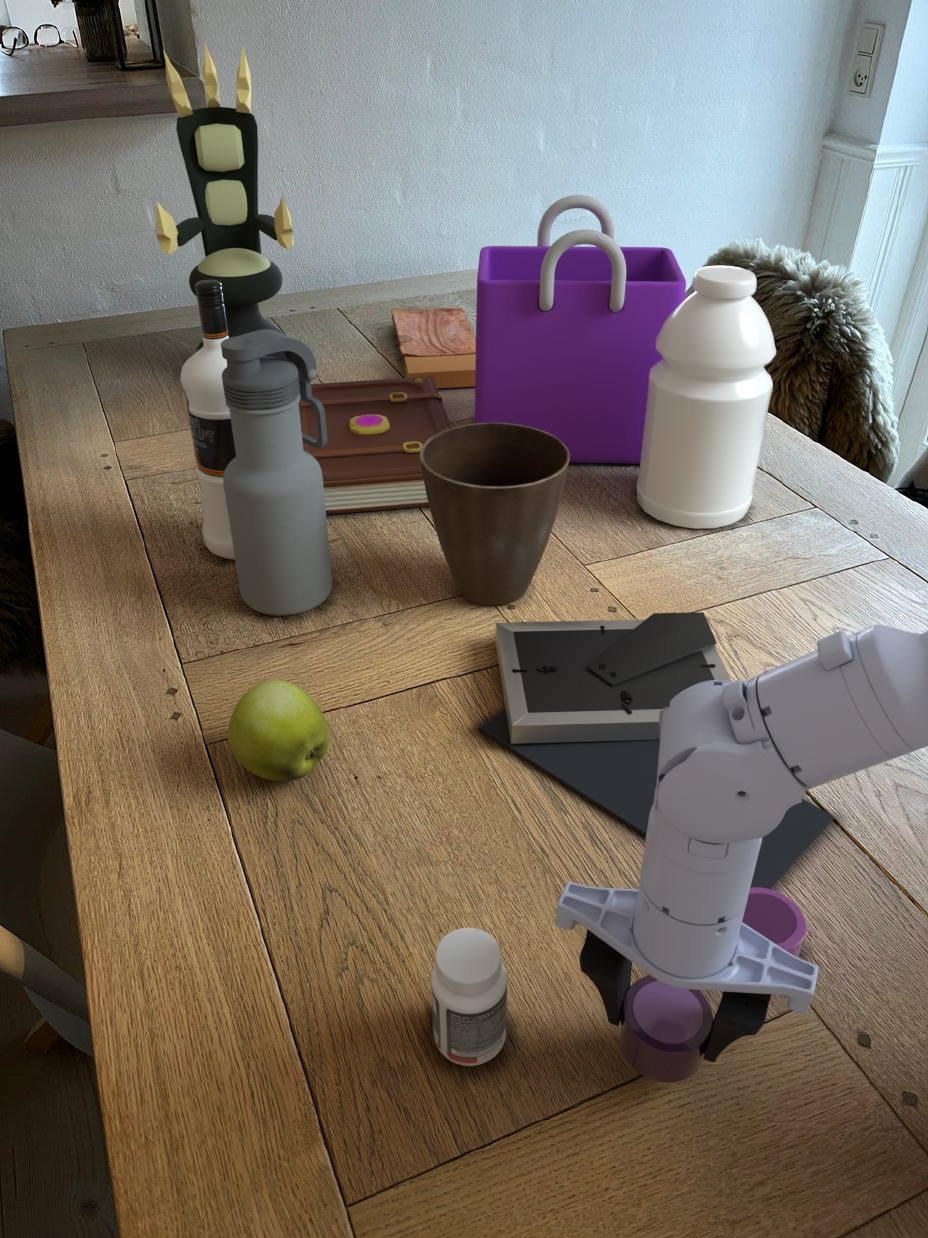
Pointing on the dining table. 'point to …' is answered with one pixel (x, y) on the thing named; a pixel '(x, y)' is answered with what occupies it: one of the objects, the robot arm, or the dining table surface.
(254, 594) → the water bottle
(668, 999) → the aubergine dish
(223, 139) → the throne chair
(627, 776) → the placemat
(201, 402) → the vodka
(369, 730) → the dining table surface
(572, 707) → the picture frame
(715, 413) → the bottle
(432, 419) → the book
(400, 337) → the wooden flat board
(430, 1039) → the dining table surface
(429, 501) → the plant pot
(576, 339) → the shopping bag
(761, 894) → the plum dish
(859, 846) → the dining table surface
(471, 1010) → the pill bottle
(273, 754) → the apple
